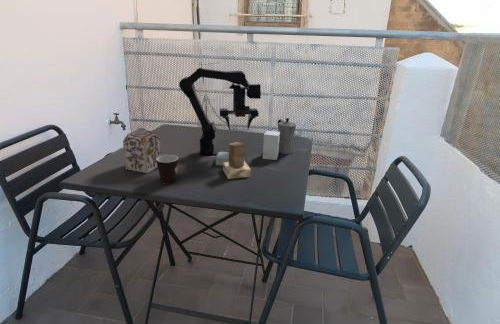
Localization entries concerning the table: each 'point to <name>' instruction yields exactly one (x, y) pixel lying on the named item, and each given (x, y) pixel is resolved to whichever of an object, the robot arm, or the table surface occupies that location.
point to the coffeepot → (286, 136)
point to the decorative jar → (141, 150)
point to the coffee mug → (167, 168)
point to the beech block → (236, 171)
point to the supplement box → (271, 145)
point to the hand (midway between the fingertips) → (238, 129)
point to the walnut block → (236, 154)
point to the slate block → (222, 158)
